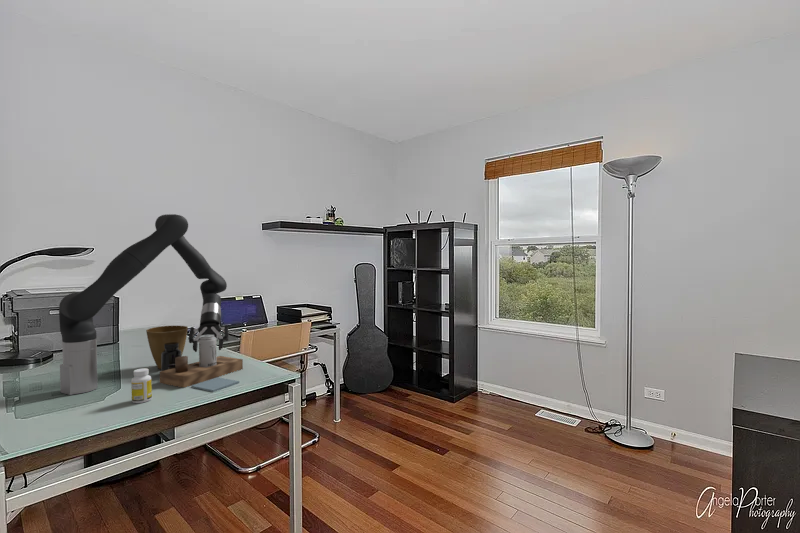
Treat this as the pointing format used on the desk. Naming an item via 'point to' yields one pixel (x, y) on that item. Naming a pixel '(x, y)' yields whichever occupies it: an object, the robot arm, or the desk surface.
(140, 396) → the supplement bottle
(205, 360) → the energy drink can
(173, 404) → the desk surface
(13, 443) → the desk surface
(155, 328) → the plant pot
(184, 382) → the body
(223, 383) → the rubber mat
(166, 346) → the supplement bottle
